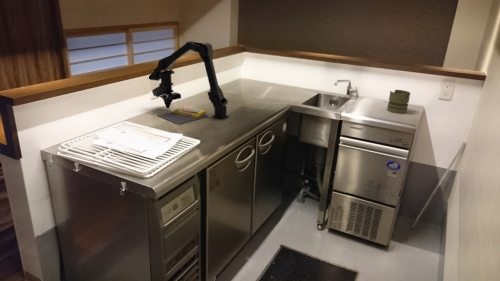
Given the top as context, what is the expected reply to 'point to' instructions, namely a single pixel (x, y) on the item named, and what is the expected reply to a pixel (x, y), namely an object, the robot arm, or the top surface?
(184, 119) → the mat
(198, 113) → the candy box
